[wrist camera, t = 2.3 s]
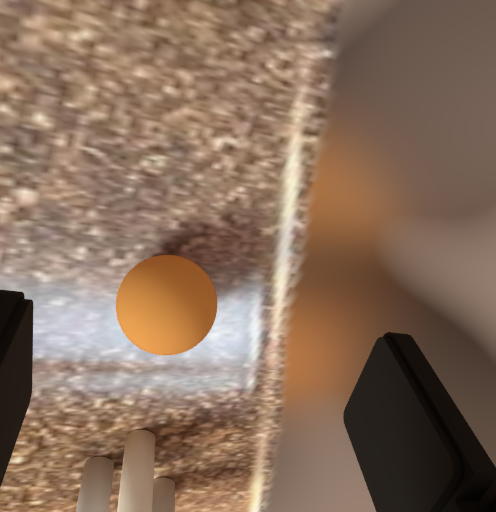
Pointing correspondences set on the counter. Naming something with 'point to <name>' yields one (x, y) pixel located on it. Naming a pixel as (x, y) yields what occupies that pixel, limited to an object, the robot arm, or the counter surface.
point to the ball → (166, 305)
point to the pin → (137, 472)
